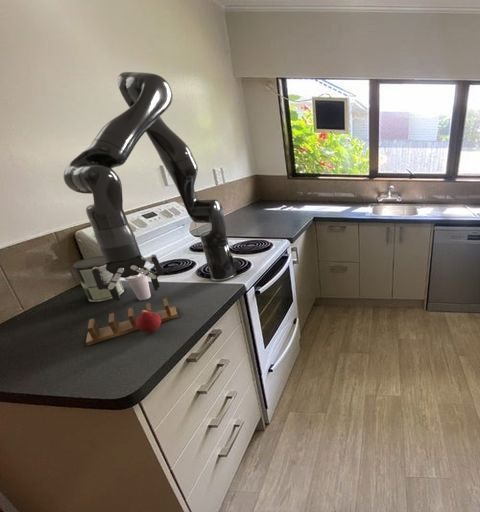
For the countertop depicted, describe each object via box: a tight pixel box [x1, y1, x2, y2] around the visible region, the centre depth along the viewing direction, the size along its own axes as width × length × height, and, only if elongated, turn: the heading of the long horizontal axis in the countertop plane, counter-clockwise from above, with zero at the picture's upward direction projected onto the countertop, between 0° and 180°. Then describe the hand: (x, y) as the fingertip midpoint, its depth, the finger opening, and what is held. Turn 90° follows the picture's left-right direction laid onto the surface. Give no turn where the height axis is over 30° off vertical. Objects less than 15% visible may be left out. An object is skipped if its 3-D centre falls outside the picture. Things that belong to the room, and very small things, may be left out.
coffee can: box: [71, 255, 125, 303], centre depth 107 cm, size 10×10×14 cm
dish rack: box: [85, 297, 179, 346], centre depth 90 cm, size 22×6×5 cm, turn 130°
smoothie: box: [124, 273, 152, 301], centre depth 105 cm, size 6×6×14 cm
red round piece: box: [136, 309, 162, 334], centre depth 87 cm, size 6×6×8 cm
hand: (138, 294), depth 83 cm, fingers open, 8 cm apart
